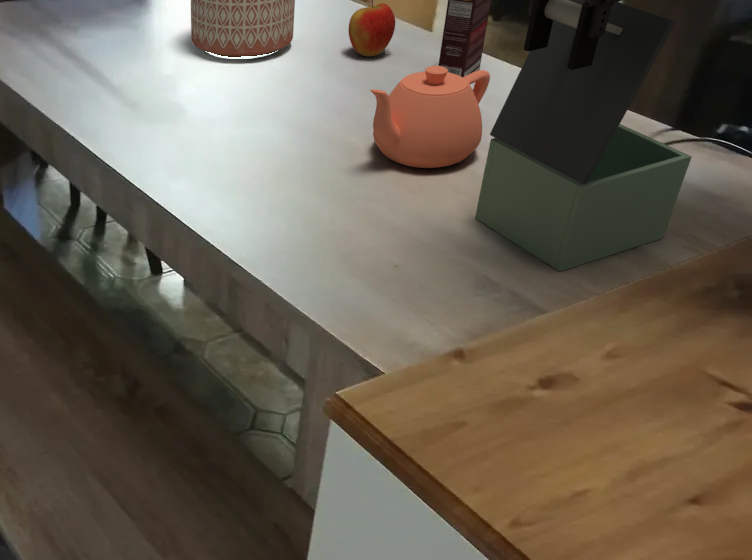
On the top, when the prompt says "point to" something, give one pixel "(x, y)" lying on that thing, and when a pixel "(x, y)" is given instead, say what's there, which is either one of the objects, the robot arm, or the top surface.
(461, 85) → the teapot
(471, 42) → the supplement box
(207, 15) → the planter
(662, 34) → the lid
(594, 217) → the green open box
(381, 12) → the apple
